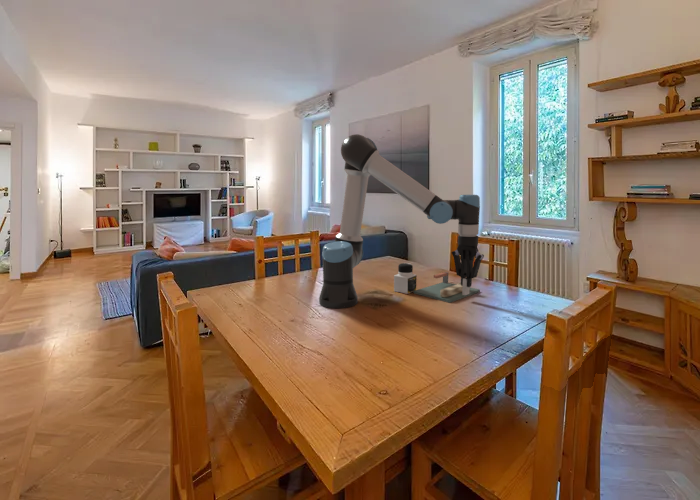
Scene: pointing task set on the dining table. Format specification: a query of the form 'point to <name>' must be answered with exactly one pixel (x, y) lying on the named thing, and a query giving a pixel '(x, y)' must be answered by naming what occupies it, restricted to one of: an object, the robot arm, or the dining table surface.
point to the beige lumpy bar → (451, 290)
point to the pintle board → (435, 289)
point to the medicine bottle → (405, 279)
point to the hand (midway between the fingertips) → (465, 294)
